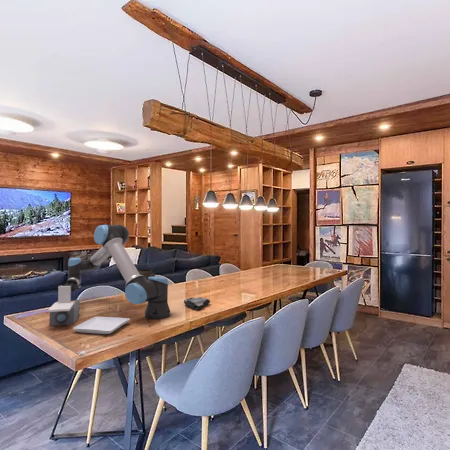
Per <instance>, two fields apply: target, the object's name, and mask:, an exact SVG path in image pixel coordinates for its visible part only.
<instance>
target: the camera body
mask: <svg viewBox="0 0 450 450" xmlns="http://www.w3.org/2000/svg"><path fill="white" fill-rule="evenodd" d="M56 302H58V300H56ZM71 302H75V304H74V305H73V307H72V308H71V309H70V311H57V312H49V327H50V326H51V327H54V326H55V327H56V326H65V325H66V326H68V325H75V323H76V321H77V320H78V318H79V317H80V299H74V300H73V299H71Z"/></svg>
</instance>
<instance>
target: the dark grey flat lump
mask: <svg viewBox="0 0 450 450" xmlns="http://www.w3.org/2000/svg"><path fill="white" fill-rule="evenodd" d="M210 303H211V300H210V299H209V298H205V297H200V296H199V297H193V296H192V297H188V298H185V299H184V300H183V304H184V305H186V308H188V309H191V310H195V311H198V310H199V309H201V308H204V307H207V306H208V305H209V304H210Z"/></svg>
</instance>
